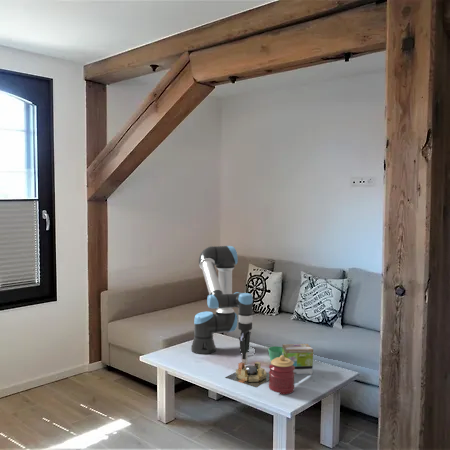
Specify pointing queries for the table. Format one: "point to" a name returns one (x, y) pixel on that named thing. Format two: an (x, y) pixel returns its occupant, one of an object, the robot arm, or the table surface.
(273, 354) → the mug
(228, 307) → the robot arm
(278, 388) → the canister
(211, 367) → the table surface
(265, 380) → the cap plate
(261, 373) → the ring nut
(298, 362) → the tea box
